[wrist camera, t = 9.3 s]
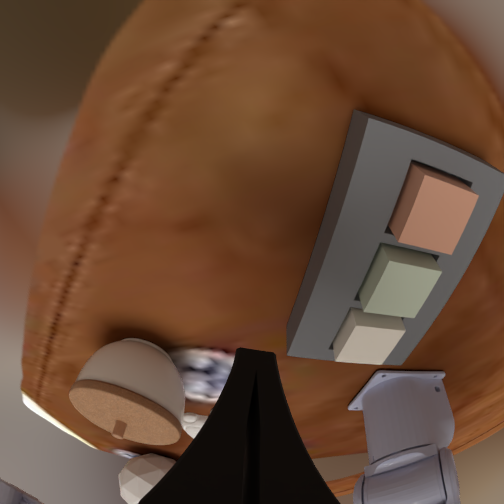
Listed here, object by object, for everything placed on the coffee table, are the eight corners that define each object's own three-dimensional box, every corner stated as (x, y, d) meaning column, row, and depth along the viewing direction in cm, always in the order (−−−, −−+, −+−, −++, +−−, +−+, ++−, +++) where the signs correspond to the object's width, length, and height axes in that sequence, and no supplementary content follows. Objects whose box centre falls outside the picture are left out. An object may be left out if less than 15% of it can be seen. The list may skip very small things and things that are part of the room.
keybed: (484, 160, 15) (509, 177, 13) (393, 338, 25) (400, 365, 22) (353, 109, 15) (369, 117, 13) (286, 326, 25) (286, 355, 22)
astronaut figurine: (276, 429, 37) (275, 448, 34) (200, 434, 40) (197, 451, 38) (252, 402, 33) (250, 424, 30) (168, 408, 36) (163, 427, 33)
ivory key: (396, 304, 20) (405, 330, 18) (375, 338, 22) (381, 364, 20) (349, 297, 20) (356, 325, 18) (331, 334, 22) (335, 361, 20)
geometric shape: (178, 435, 53) (214, 492, 41) (167, 470, 56) (196, 520, 44) (110, 441, 44) (138, 509, 33) (109, 477, 47) (133, 533, 36)
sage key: (426, 247, 18) (442, 271, 15) (403, 292, 20) (414, 318, 18) (377, 235, 17) (389, 260, 15) (355, 284, 20) (363, 311, 17)
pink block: (456, 177, 15) (479, 195, 13) (434, 231, 17) (451, 255, 15) (405, 158, 15) (424, 174, 12) (383, 218, 17) (397, 242, 15)
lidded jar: (196, 334, 26) (172, 430, 18) (195, 393, 32) (179, 467, 24) (87, 309, 26) (44, 389, 18) (108, 372, 32) (82, 438, 24)
